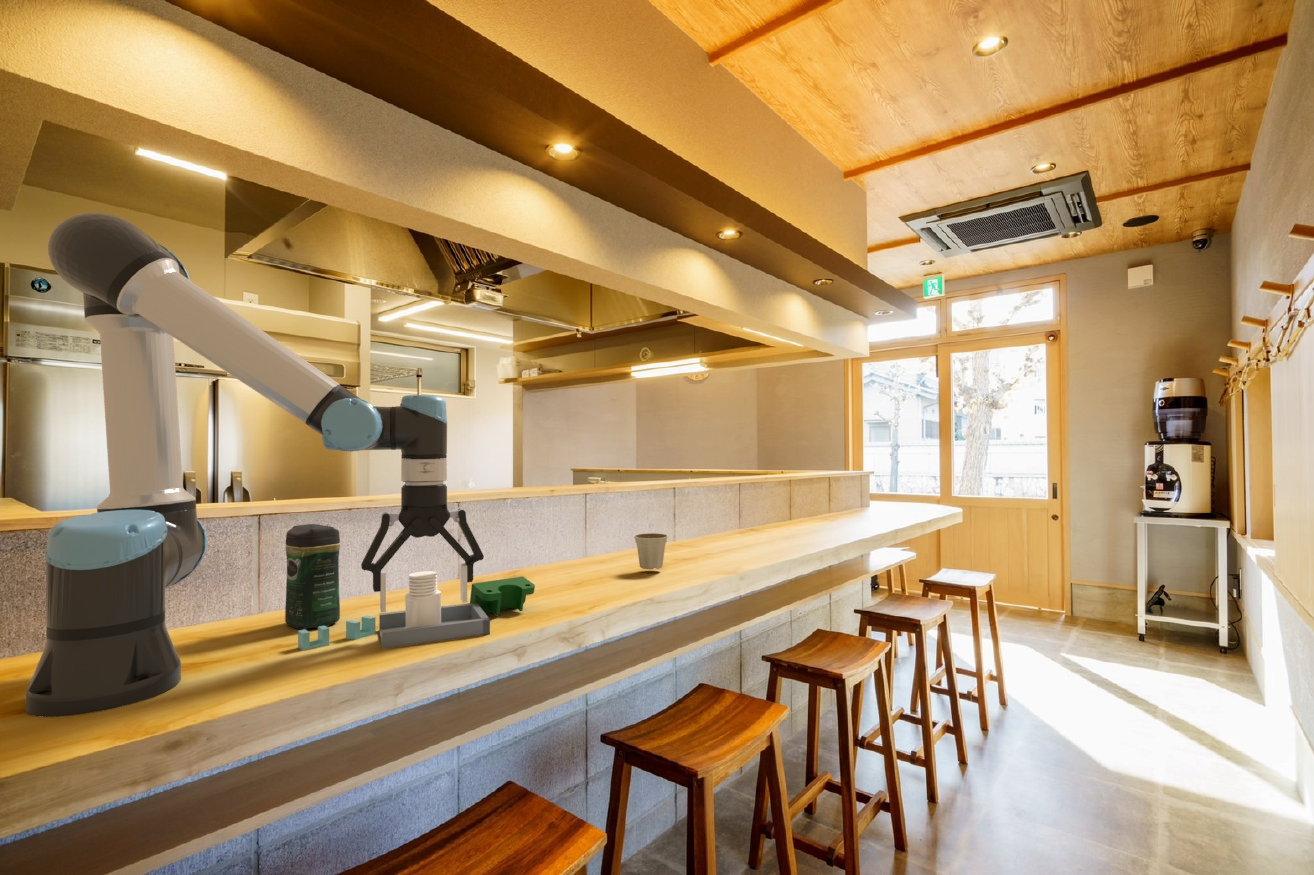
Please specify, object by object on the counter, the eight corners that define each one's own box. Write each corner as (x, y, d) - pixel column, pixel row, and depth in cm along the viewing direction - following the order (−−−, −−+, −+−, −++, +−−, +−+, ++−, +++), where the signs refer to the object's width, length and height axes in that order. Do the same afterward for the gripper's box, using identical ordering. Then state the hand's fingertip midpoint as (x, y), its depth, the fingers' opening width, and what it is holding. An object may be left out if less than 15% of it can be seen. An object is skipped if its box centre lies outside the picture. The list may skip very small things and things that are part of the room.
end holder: (382, 652, 98) (382, 633, 98) (379, 630, 110) (379, 613, 110) (489, 636, 105) (489, 619, 106) (476, 618, 117) (476, 602, 117)
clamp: (490, 638, 117) (476, 599, 114) (476, 625, 122) (463, 588, 118) (543, 605, 124) (532, 568, 121) (528, 594, 128) (517, 558, 125)
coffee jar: (347, 623, 114) (347, 523, 115) (302, 633, 108) (302, 528, 108) (322, 614, 120) (322, 520, 120) (278, 624, 114) (278, 524, 114)
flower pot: (668, 571, 160) (668, 538, 161) (632, 571, 161) (632, 538, 161) (668, 564, 170) (668, 533, 170) (634, 564, 170) (634, 533, 170)
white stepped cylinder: (413, 624, 111) (413, 569, 111) (451, 624, 111) (451, 569, 111) (393, 638, 103) (392, 579, 103) (434, 638, 103) (433, 578, 103)
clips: (304, 653, 97) (304, 634, 98) (296, 649, 99) (296, 630, 100) (377, 635, 107) (377, 618, 107) (369, 631, 109) (369, 615, 109)
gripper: (345, 487, 98) (345, 620, 98) (499, 482, 109) (500, 601, 109) (345, 484, 105) (345, 609, 105) (491, 480, 116) (491, 592, 116)
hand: (424, 605), depth 107 cm, fingers open, 13 cm apart
